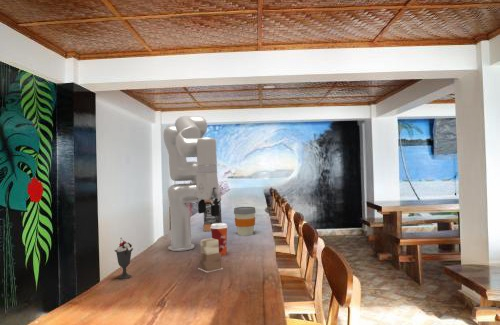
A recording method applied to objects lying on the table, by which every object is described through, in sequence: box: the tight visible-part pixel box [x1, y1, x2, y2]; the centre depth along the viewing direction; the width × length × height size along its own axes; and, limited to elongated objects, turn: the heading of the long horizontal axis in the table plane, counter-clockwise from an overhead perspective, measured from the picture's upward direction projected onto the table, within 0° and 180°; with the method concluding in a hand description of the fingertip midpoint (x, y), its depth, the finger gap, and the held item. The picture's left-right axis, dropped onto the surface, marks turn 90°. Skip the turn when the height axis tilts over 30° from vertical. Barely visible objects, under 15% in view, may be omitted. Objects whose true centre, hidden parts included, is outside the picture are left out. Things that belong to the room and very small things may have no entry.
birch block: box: [200, 237, 219, 255], centre depth 143 cm, size 5×5×5 cm
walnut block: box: [199, 252, 222, 273], centre depth 143 cm, size 6×6×6 cm
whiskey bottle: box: [202, 197, 223, 232], centre depth 232 cm, size 10×10×32 cm
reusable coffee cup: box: [233, 206, 257, 237], centre depth 215 cm, size 13×13×15 cm
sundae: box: [114, 237, 134, 280], centre depth 138 cm, size 7×7×15 cm
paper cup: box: [210, 222, 229, 257], centre depth 166 cm, size 8×8×14 cm
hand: (208, 214), depth 143 cm, fingers open, 9 cm apart
